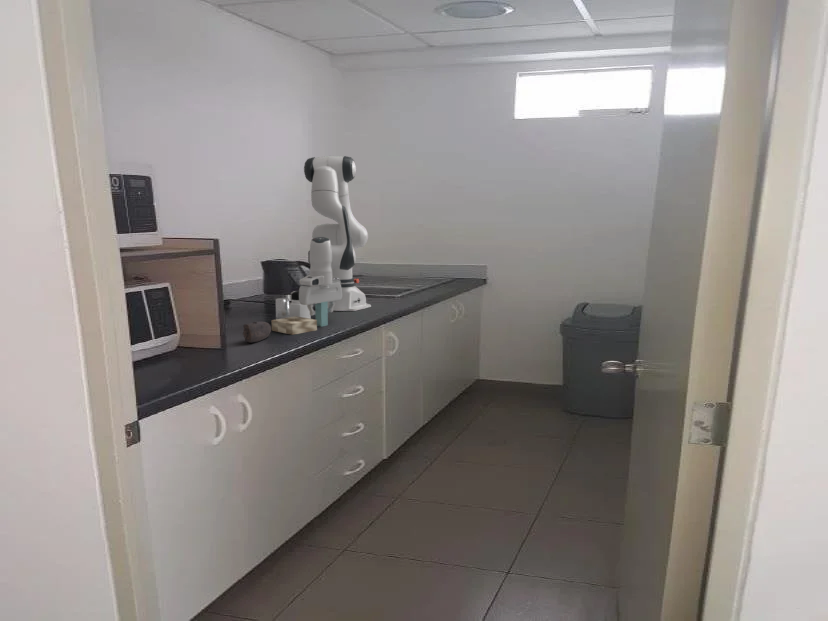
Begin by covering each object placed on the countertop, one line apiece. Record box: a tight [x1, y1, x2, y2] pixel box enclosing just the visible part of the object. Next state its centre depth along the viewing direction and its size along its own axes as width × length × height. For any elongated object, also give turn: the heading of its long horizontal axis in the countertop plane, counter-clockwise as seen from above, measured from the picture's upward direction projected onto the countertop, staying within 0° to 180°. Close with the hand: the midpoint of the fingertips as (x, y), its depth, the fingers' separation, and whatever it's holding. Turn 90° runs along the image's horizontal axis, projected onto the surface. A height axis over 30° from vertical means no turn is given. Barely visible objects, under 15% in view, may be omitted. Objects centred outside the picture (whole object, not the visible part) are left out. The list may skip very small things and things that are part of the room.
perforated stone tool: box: [242, 320, 272, 344], centre depth 221 cm, size 15×5×7 cm, turn 158°
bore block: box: [271, 316, 318, 336], centre depth 240 cm, size 12×12×4 cm
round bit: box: [275, 297, 291, 320], centre depth 253 cm, size 5×5×10 cm
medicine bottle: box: [289, 290, 312, 319], centre depth 262 cm, size 7×7×12 cm
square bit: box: [314, 301, 329, 327], centre depth 251 cm, size 3×3×10 cm
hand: (321, 313), depth 251 cm, fingers open, 8 cm apart
